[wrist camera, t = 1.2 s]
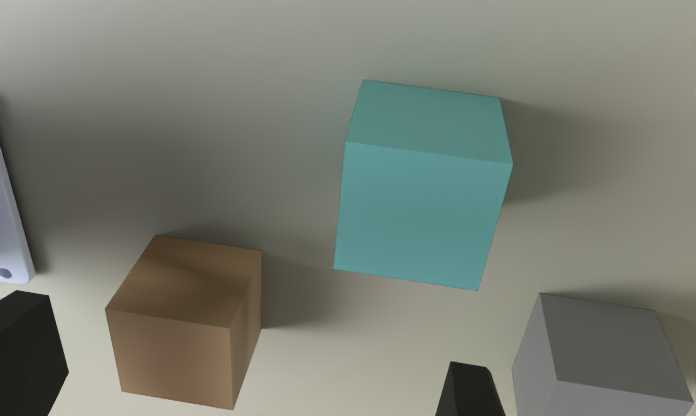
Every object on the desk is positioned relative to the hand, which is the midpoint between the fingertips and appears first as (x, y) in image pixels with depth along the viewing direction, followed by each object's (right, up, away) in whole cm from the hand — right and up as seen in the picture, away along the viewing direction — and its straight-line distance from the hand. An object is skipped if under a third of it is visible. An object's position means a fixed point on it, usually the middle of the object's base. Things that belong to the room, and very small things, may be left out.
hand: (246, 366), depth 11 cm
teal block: (+4, +5, +8) cm, 10 cm away
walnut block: (-3, 0, +12) cm, 13 cm away
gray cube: (+10, -2, +11) cm, 15 cm away
